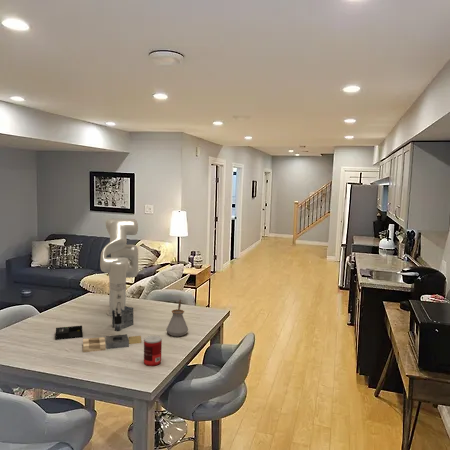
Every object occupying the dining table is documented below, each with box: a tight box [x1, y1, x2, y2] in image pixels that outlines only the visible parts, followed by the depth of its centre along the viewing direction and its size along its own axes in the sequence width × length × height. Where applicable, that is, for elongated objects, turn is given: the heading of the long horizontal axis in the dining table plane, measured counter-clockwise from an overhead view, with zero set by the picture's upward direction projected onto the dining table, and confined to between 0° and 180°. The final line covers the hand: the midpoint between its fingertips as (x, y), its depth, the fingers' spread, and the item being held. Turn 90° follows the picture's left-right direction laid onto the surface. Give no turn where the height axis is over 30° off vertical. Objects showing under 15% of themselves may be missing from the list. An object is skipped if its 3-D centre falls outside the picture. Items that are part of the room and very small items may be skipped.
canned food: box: [143, 335, 163, 367], centre depth 183 cm, size 8×8×11 cm
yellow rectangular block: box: [128, 335, 142, 345], centre depth 205 cm, size 3×6×3 cm, turn 109°
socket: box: [105, 334, 130, 350], centre depth 202 cm, size 10×10×3 cm
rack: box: [82, 336, 107, 353], centre depth 198 cm, size 10×10×3 cm
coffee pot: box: [166, 299, 189, 338], centre depth 223 cm, size 21×12×15 cm, turn 1°
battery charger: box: [54, 325, 84, 341], centre depth 211 cm, size 13×10×4 cm
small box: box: [111, 306, 134, 330], centre depth 227 cm, size 11×6×10 cm, turn 149°
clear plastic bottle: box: [114, 309, 122, 332], centre depth 202 cm, size 3×3×13 cm
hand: (117, 322), depth 202 cm, fingers closed on clear plastic bottle, 3 cm apart
